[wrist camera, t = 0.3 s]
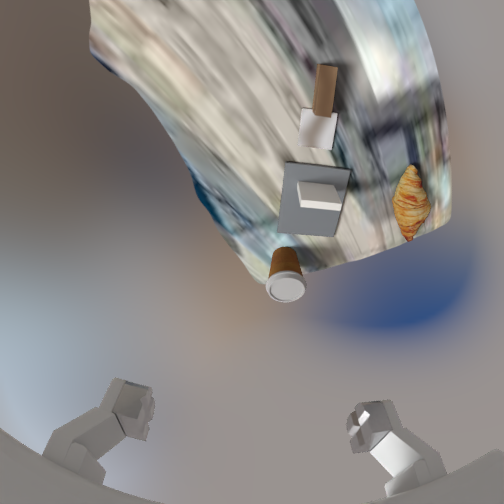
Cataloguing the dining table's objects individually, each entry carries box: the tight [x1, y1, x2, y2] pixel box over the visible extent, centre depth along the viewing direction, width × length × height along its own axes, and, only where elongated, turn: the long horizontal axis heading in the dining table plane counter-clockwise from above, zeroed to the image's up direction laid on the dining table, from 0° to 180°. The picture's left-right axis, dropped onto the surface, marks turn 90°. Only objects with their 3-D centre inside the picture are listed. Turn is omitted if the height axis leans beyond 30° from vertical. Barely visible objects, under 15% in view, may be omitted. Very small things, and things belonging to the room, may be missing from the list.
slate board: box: [277, 162, 350, 237], centre depth 59 cm, size 18×14×1 cm
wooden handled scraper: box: [298, 64, 338, 150], centre depth 44 cm, size 7×18×4 cm, turn 177°
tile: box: [297, 181, 342, 211], centre depth 53 cm, size 2×8×8 cm, turn 87°
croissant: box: [392, 165, 431, 242], centre depth 55 cm, size 21×10×8 cm, turn 17°
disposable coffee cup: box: [266, 247, 306, 302], centre depth 66 cm, size 10×10×12 cm
